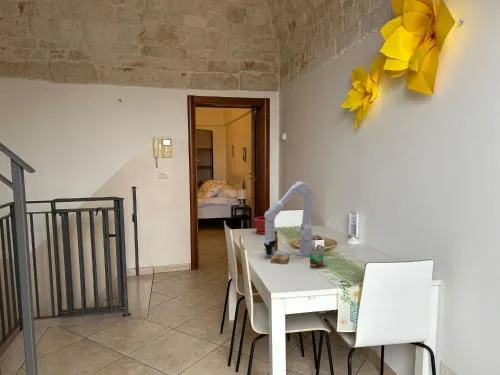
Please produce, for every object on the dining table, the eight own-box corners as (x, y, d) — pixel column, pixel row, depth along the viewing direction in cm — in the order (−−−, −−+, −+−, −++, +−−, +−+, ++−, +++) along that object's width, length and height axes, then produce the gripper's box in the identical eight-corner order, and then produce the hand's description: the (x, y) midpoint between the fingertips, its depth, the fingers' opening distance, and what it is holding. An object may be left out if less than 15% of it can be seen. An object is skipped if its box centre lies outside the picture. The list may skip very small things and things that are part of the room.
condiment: (280, 250, 231) (280, 231, 230) (269, 252, 227) (269, 233, 225) (273, 247, 237) (273, 229, 236) (263, 249, 233) (262, 231, 231)
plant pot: (260, 230, 288) (260, 215, 287) (275, 232, 280) (275, 217, 279) (251, 234, 277) (251, 218, 276) (265, 236, 270) (265, 220, 268)
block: (274, 255, 220) (274, 246, 220) (273, 257, 216) (272, 248, 216) (267, 254, 222) (267, 246, 221) (265, 256, 217) (265, 248, 217)
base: (289, 259, 211) (289, 255, 211) (286, 264, 203) (286, 259, 202) (274, 258, 214) (274, 254, 213) (270, 262, 205) (270, 258, 205)
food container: (319, 269, 192) (319, 251, 191) (308, 267, 195) (309, 249, 194) (328, 263, 203) (328, 245, 202) (317, 261, 206) (317, 244, 205)
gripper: (266, 228, 226) (266, 249, 227) (260, 233, 212) (260, 256, 213) (277, 228, 224) (277, 250, 225) (272, 234, 210) (272, 257, 211)
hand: (270, 253), depth 219 cm, fingers closed on block, 4 cm apart
